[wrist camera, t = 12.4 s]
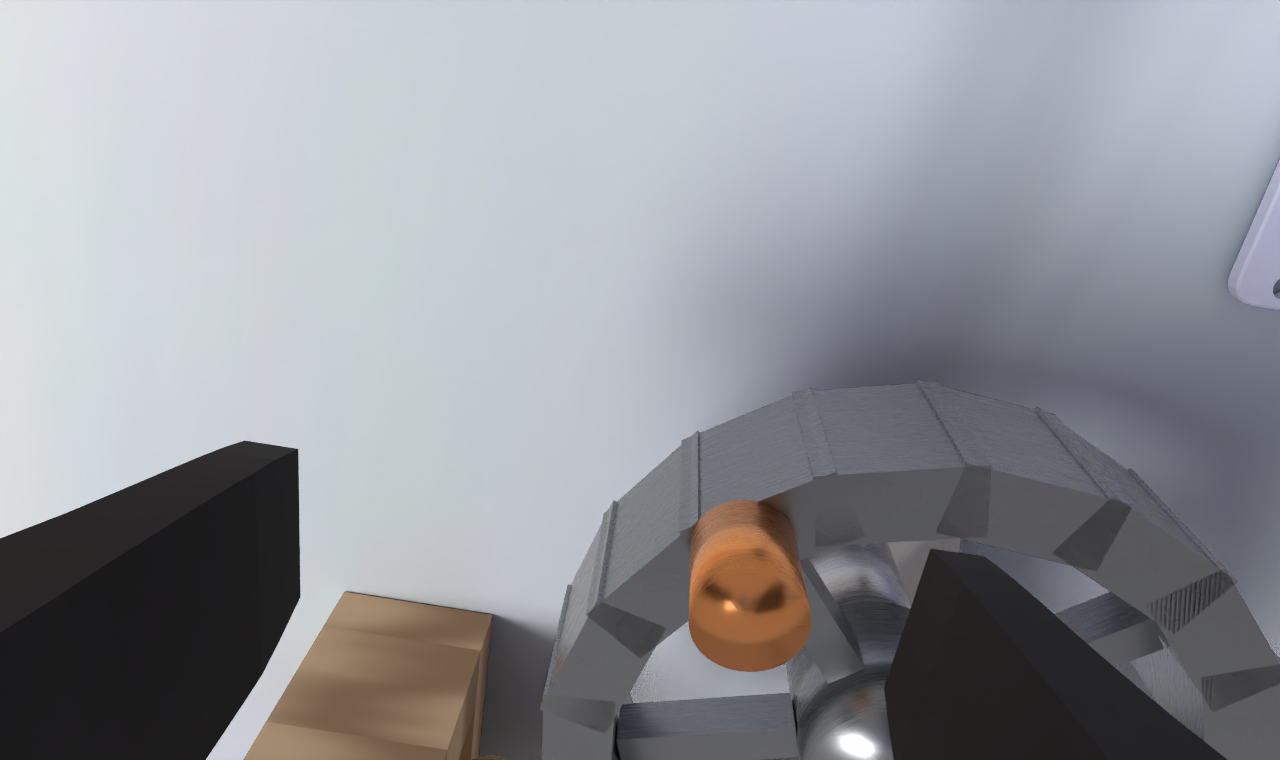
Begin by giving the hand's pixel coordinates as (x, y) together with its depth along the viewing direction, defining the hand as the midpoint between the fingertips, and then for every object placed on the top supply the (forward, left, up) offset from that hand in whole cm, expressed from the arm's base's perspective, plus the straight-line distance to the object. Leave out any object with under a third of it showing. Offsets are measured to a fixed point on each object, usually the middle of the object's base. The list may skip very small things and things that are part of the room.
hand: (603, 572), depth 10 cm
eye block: (+5, +13, -10) cm, 17 cm away
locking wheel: (-6, +4, -6) cm, 9 cm away
